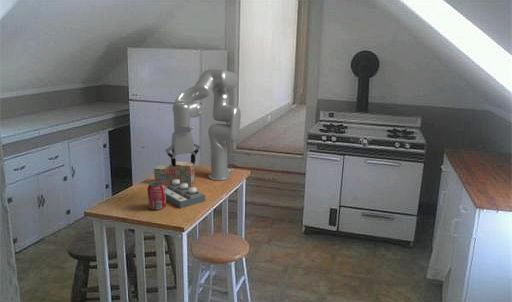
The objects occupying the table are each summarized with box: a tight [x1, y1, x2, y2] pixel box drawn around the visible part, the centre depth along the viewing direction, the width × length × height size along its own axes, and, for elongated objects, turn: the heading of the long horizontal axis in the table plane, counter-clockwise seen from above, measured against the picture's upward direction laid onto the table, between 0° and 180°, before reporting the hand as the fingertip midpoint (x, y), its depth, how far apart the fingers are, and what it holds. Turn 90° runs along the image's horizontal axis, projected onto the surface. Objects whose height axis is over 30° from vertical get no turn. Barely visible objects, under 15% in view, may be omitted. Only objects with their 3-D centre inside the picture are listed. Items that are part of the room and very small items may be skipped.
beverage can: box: [147, 180, 167, 211], centre depth 185 cm, size 8×8×12 cm
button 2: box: [188, 186, 198, 194], centre depth 193 cm, size 4×4×2 cm
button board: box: [165, 183, 206, 209], centre depth 198 cm, size 14×23×5 cm, turn 41°
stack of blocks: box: [153, 160, 196, 187], centre depth 218 cm, size 21×6×12 cm, turn 79°
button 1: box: [172, 179, 180, 185], centre depth 204 cm, size 4×4×2 cm
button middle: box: [180, 183, 188, 189], centre depth 199 cm, size 4×4×2 cm
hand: (183, 164), depth 190 cm, fingers open, 9 cm apart
